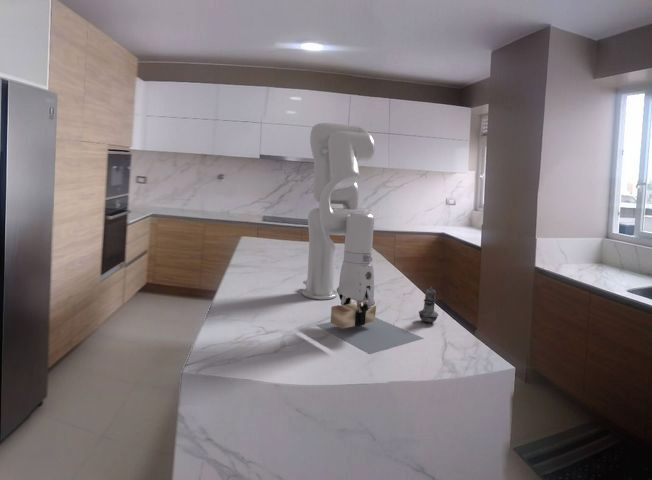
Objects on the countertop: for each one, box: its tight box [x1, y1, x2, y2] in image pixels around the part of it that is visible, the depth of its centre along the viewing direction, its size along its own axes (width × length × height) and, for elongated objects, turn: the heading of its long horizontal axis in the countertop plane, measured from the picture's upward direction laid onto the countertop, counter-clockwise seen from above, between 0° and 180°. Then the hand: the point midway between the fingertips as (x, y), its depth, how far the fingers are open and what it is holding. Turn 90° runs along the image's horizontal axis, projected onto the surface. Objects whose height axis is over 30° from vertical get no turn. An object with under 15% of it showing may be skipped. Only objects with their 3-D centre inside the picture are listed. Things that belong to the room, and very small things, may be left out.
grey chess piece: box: [418, 285, 439, 325], centre depth 122 cm, size 6×6×12 cm
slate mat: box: [316, 316, 424, 355], centre depth 112 cm, size 22×20×1 cm
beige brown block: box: [330, 302, 377, 329], centre depth 113 cm, size 12×5×5 cm, turn 128°
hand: (353, 321), depth 113 cm, fingers closed on beige brown block, 5 cm apart
